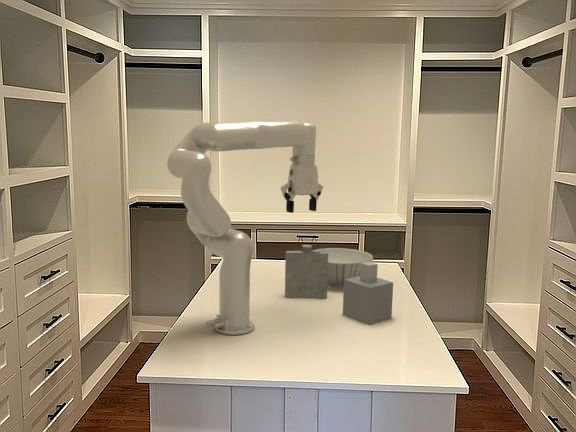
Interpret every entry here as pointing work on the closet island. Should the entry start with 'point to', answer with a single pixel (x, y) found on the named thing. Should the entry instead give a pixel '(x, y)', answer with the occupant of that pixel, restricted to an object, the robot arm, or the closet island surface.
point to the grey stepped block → (368, 296)
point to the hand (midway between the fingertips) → (301, 211)
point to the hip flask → (306, 273)
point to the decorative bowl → (344, 264)
